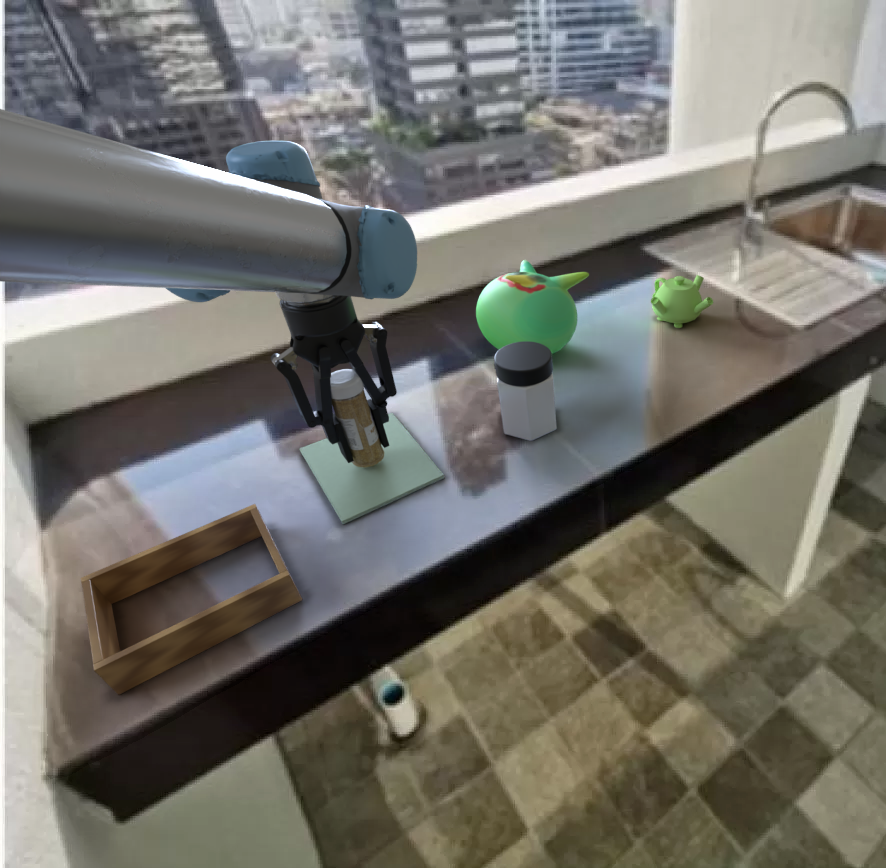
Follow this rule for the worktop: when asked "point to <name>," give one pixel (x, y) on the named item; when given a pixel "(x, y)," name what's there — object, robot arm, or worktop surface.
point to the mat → (371, 473)
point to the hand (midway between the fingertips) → (365, 449)
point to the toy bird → (529, 308)
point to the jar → (526, 389)
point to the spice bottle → (355, 418)
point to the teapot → (678, 300)
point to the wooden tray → (195, 631)
